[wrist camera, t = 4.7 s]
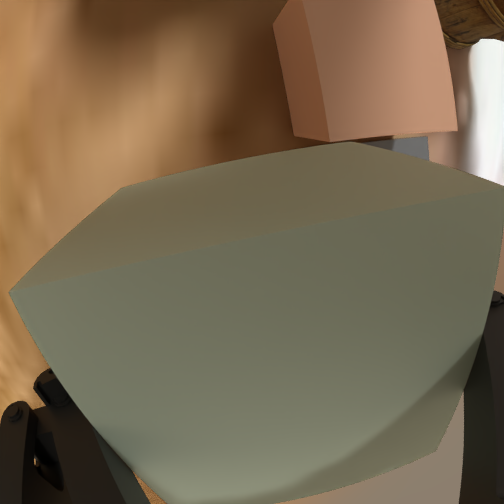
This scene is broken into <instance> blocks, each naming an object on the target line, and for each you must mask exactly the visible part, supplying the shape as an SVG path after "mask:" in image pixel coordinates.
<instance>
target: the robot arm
mask: <svg viewBox="0 0 504 504" xmlns="http://www.w3.org/2000/svg"><path fill="white" fill-rule="evenodd" d="M33 389H34V390H35V392H36V393H37V394H38V396H39V397H40V398H41V400H42V401H43V402H44V404H45V405H46V406H44V407H40V408H37V409H34V410H32V409H31V407H30V406H29V405H28V404H27V402H24V401H17V402H14V403H12V404H10V405H9V406H8V407H7V408H6V410H5V411H4V413H3V415H2V418H1V423H0V504H151V503H150V502H149V500H148V498H147V497H146V495H145V493H144V491H143V490H142V488H141V486H140V484H139V483H138V481H137V479H136V477H135V475H134V474H133V472H132V470H131V468H130V467H129V466H128V465H127V464H126V463H125V462H124V461H123V460H122V459H121V458H120V457H119V456H118V455H117V453H116V452H115V451H114V450H113V449H112V448H111V447H110V446H109V444H108V443H107V442H106V441H105V440H104V439H103V438H102V436H101V435H100V434H99V433H98V432H97V430H96V429H95V428H94V427H93V425H92V424H91V423H90V422H89V420H88V419H87V418H86V417H85V415H84V414H83V413H82V411H81V410H80V409H79V408H78V406H77V405H76V404H75V402H74V401H73V399H72V398H71V397H70V395H69V394H68V393H67V391H66V390H65V388H64V387H63V385H62V384H61V382H60V381H59V380H58V378H57V377H56V375H55V374H54V372H53V371H52V369H51V368H50V369H47V370H46V371H44V372H43V373H41V374H40V375H39V376H38V377H37V379H36V381H35V382H34V387H33ZM34 458H35V459H36V464H34ZM459 504H504V295H503V294H502V293H500V292H497V291H493V294H492V299H491V303H490V307H489V312H488V316H487V319H486V323H485V327H484V330H483V334H482V337H481V341H480V344H479V347H478V351H477V354H476V357H475V360H474V363H473V366H472V369H471V371H470V374H469V377H468V380H467V382H466V385H465V388H464V453H463V467H462V480H461V489H460V498H459Z"/></svg>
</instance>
